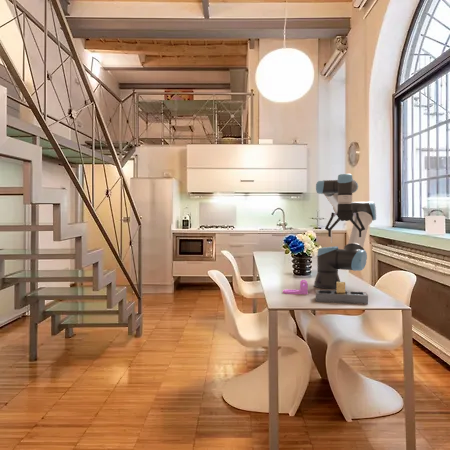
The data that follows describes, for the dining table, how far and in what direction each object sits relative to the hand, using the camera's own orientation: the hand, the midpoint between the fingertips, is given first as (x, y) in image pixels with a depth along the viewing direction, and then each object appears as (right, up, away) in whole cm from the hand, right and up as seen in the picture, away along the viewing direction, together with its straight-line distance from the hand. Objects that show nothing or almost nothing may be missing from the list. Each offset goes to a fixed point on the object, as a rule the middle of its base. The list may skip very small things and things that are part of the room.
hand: (344, 243), depth 210 cm
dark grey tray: (-7, -27, -17) cm, 33 cm away
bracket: (-26, -27, +2) cm, 38 cm away
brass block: (-7, -27, -17) cm, 33 cm away
